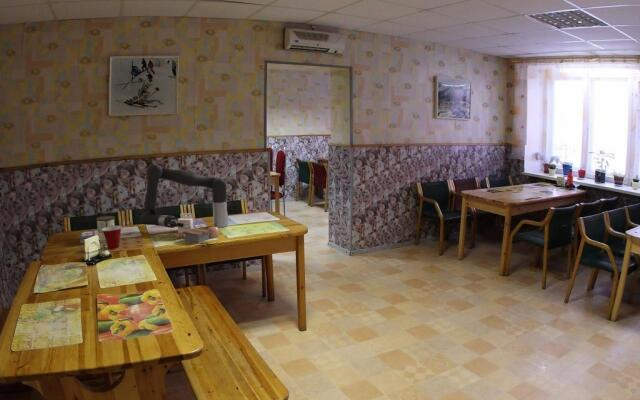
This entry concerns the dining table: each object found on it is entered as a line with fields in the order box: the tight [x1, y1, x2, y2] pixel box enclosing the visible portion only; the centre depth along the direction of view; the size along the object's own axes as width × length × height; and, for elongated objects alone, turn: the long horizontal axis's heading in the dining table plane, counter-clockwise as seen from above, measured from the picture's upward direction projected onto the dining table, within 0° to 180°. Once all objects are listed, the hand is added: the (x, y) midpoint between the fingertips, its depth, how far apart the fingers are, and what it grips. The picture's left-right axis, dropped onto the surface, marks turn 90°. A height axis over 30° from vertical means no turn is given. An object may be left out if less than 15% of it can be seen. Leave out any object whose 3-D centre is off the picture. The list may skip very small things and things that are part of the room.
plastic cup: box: [102, 225, 122, 250], centre depth 267 cm, size 11×11×12 cm
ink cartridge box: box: [177, 212, 194, 239], centre depth 292 cm, size 9×5×15 cm, turn 84°
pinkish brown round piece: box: [207, 226, 220, 239], centre depth 292 cm, size 6×6×6 cm
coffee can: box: [95, 215, 116, 243], centre depth 284 cm, size 10×10×14 cm
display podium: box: [183, 227, 211, 244], centre depth 284 cm, size 12×12×6 cm
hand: (187, 223), depth 291 cm, fingers open, 8 cm apart
